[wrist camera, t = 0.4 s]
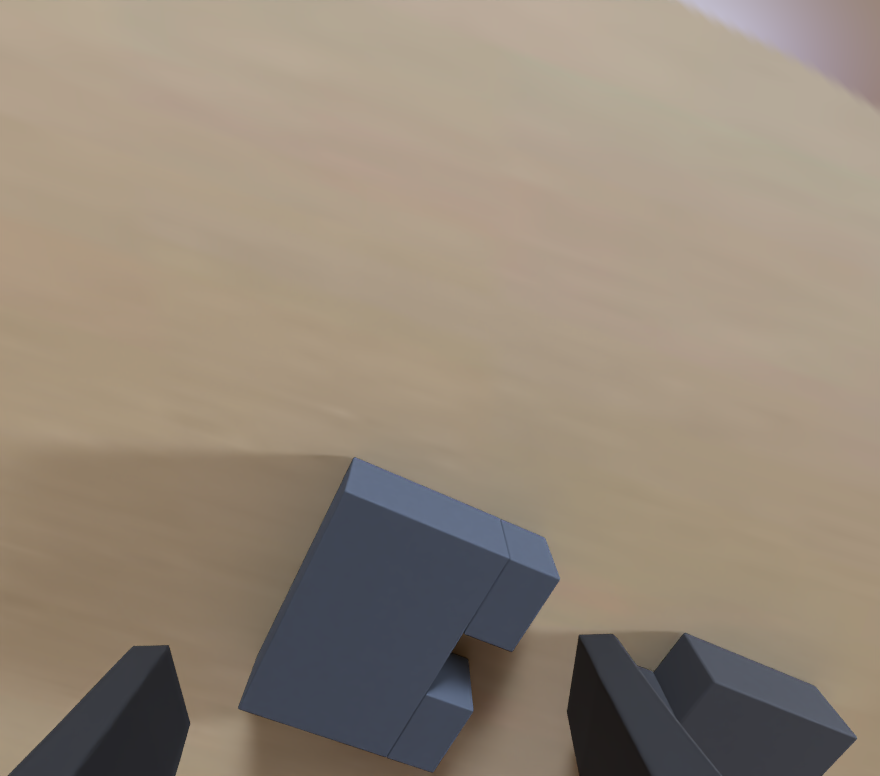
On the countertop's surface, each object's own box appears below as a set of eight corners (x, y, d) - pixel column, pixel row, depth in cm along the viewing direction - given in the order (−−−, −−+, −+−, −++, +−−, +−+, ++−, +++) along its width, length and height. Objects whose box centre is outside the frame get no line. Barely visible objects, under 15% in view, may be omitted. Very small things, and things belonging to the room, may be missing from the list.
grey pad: (431, 716, 24) (433, 773, 21) (257, 656, 22) (237, 709, 20) (545, 537, 21) (561, 579, 18) (354, 456, 20) (344, 490, 17)
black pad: (722, 790, 26) (752, 849, 23) (561, 733, 24) (577, 790, 22) (815, 685, 24) (859, 738, 21) (647, 616, 22) (674, 665, 20)
